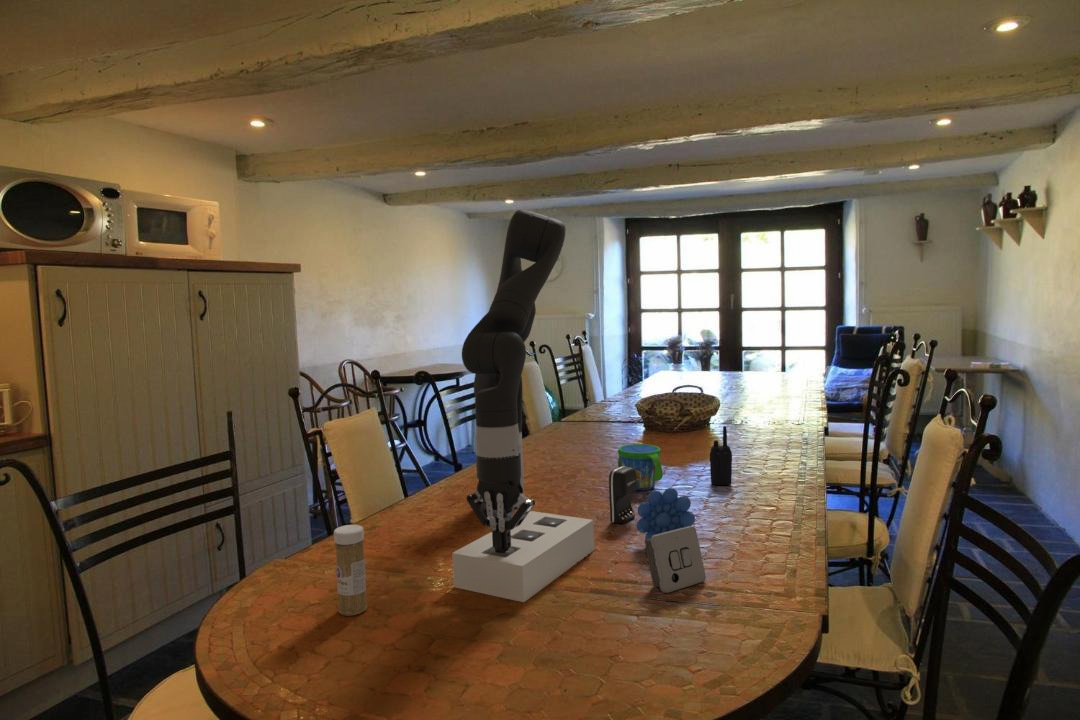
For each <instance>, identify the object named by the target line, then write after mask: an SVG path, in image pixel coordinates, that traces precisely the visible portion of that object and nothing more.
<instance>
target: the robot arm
mask: <svg viewBox="0 0 1080 720" xmlns="http://www.w3.org/2000/svg"><path fill="white" fill-rule="evenodd" d="M506 231H507V232H506V236H505V242H504V243H505V244H504V249H503V256H502V257H503V258H502V263H501V269H500V275H499V281H498V285H497V287H496V288H497V290H496V292H495V294H494V297H493V300H492V302H491V304H490V307H489V309H488V312H487V313H486V314H485V315H484V316H483V317H481V319H480V320H479V321H478V323H476V324H475V326H474V327H473V328H472V329H471V330H470V332H469V333H468V335H467V336H466V338H465V340H464V341H463V345H462V349H461V360H462V365H463V366H464V367H465V369H466V370H467V371H468V372H469V373H471V374H473V375H474V380H473V381H474V382H473V394H474V397H475V398H474V399H475V400H474V407H475V408H474V409H475V428H476V429H475V436H474V439H475V463H476V464H475V466H476V478H477V480H478V482H477V486H476V490H475V491H474V492H473V493H471V494H469V495H466V501H467V503H468V505H469V507H470V508H471V509H472V510H473V512H474V514H475V515H476V517H477V518H478V521H479V522H480V523H481V525H482V526H484V527H485V526H487V527H489V528H490V530H491V532H492V539H493V540H492V541H493V547H494V548H495V551H496V552H500V553H504V552H506V551H508V549H509V548H510V546H511V530H512V529H514V528H515V527H517V526H519V525H520V524H521V523H522V522H523V520H524V519H525V518H526V516H527V515H528V513H529V512H530V511H532V509H533V508H534V506H535V505H536V501H535V500H534V499H533V498H530V499H529V498H528V497H527V496H526V495H525V491H524V487H525V486H524V485H525V484H524V463H523V462H524V460H523V458H524V456H523V455H524V454H523V434H522V433H523V432H522V431H523V428H522V427H523V426H522V422H523V376H522V374H523V370H524V367H525V362H526V355H527V349H526V345H525V342H526V341H527V339H528V338H529V336H530V333H531V331H532V328H533V324H534V321H535V320H534V319H535V316H536V312H537V311H536V303H535V302H536V300H537V298H538V296H539V294H540V292H541V290H542V288H543V287H544V286H545V284H546V282H547V280H548V278H549V276H550V274H551V273H552V271H553V269H554V267H555V266H556V263H557V261H558V260H559V258H560V255H561V252H562V250H563V247H564V244H565V238H566V232H567V231H566V226H565V224H564V222H562V221H561V220H558V219H556V218H553V217H552V216H551V217H549V216H547V215H544V214H541V213H537V212H534V211H531V210H527V209H517V211H515V212H514V213H513V215H512V216H511V219H510V221H509V224H508V227H507V230H506ZM522 259H523V260H526V261H529V262H533V263H532V265H530V266H528V267H526V268H525V269H522ZM515 508H517V510H516V512H515Z"/></svg>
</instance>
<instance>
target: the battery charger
mask: <svg viewBox="0 0 1080 720" xmlns="http://www.w3.org/2000/svg"><path fill="white" fill-rule="evenodd" d="M635 491H638V490H637V474H636V471H635V469H633V468H630V467H625V466H622V467H616V468H614V469H612V470H611V471H610V472H609V475H608V494H609V517H610V518H609V519H610V521H609V522H611V523H613V524H625V523H627V522H629V521H631V520H632V519H634V518H635V517H636V513H635V512H634V508H633V505H632V494H633V493H635Z"/></svg>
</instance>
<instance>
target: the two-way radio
mask: <svg viewBox="0 0 1080 720" xmlns="http://www.w3.org/2000/svg"><path fill="white" fill-rule="evenodd" d="M722 427H723V429H722V444H721V445H719V441H718V440H716V439H715V440H714V441H713V445H712V446H711V448H710V452H709V466H710V469H709V470H710V472H709V473H710V484H711V485H713V486H730V485H732V480H733V479H732V477H733V475H732V474H733V472H732V471H733V470H732V469H733V468H732V466H733V464H732V463H733V452H732V449H731V447H730V446H729V445H728V436H727V434H728V431H727V426H726V425H724V426H722Z"/></svg>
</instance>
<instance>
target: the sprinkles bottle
mask: <svg viewBox="0 0 1080 720" xmlns="http://www.w3.org/2000/svg"><path fill="white" fill-rule="evenodd" d="M364 539H365V531H364V527H363V526H361V525H359V524H346V525H341V526H339V527H337V528H335V529H334V531H333V542H334V544H335V552H336V553H335V554H336V555H335V556H336V579H337V580H336V582H337V583H336V585H337V595H338V610H337V611H338V613H339V614H340V615H342V616H347V617H350V616H351V617H352V616H357V615H359V614H362V613H363V612H366V611H367V609H368V604H367V593H366V592H367V590H366V589H367V583H366V582H367V581H366V563H365V552H364V551H365V550H364Z"/></svg>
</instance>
